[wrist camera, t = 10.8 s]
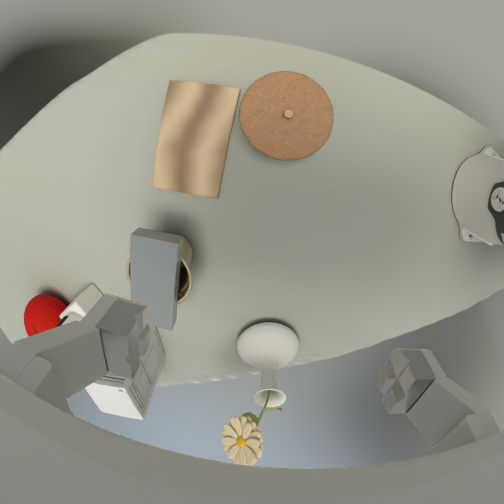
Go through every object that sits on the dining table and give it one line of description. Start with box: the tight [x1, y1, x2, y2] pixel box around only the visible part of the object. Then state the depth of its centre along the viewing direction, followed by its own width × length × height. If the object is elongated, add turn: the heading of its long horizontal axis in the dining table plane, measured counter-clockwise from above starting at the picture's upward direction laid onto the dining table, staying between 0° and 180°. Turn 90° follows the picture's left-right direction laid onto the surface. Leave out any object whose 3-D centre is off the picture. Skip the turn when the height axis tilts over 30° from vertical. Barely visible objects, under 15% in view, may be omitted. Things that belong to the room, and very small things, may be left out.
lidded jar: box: [239, 71, 333, 160], centre depth 31 cm, size 11×11×9 cm
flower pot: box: [127, 234, 193, 304], centre depth 40 cm, size 9×9×9 cm
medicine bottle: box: [55, 283, 103, 328], centre depth 43 cm, size 7×7×12 cm
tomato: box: [24, 295, 67, 337], centre depth 46 cm, size 14×13×10 cm
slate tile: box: [130, 228, 184, 330], centre depth 35 cm, size 6×13×2 cm, turn 169°
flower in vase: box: [221, 322, 299, 466], centre depth 39 cm, size 13×11×25 cm
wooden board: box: [152, 80, 240, 198], centre depth 36 cm, size 10×16×1 cm, turn 168°
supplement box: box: [85, 325, 166, 420], centre depth 44 cm, size 10×9×17 cm
